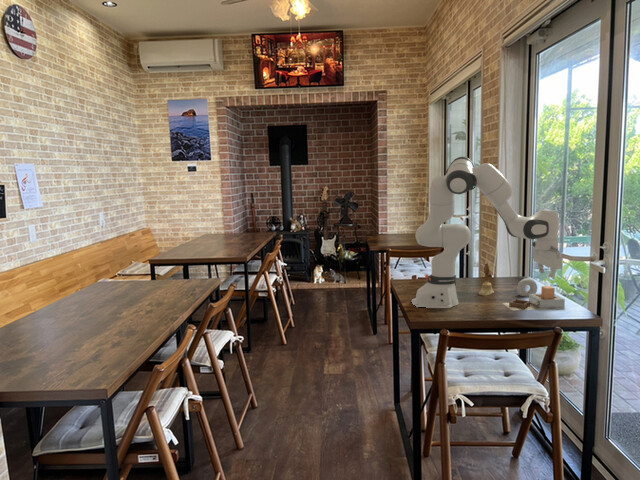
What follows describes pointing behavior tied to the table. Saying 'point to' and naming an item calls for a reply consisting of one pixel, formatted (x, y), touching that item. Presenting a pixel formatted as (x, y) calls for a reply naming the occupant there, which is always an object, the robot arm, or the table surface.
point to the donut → (523, 283)
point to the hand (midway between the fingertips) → (546, 275)
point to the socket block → (546, 301)
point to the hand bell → (486, 283)
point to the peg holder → (519, 304)
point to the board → (525, 308)
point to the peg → (547, 292)
